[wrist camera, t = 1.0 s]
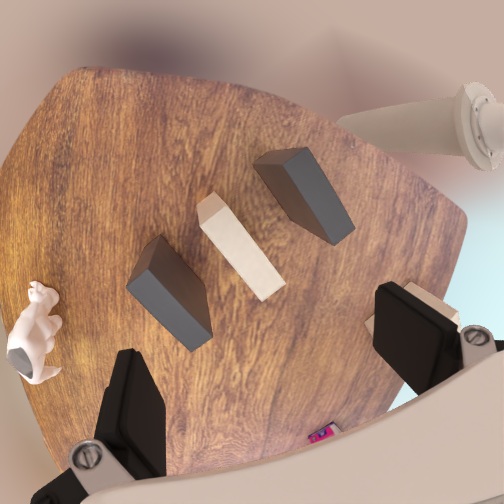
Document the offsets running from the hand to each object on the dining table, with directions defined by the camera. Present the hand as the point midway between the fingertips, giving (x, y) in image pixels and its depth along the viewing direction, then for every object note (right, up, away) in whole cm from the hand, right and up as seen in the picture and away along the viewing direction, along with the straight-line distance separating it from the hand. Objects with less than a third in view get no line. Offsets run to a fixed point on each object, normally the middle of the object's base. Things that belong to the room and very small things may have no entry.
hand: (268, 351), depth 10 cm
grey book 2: (-9, +2, +22) cm, 24 cm away
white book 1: (-3, +7, +22) cm, 23 cm away
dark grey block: (+3, +11, +22) cm, 25 cm away
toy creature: (-26, -3, +20) cm, 34 cm away
